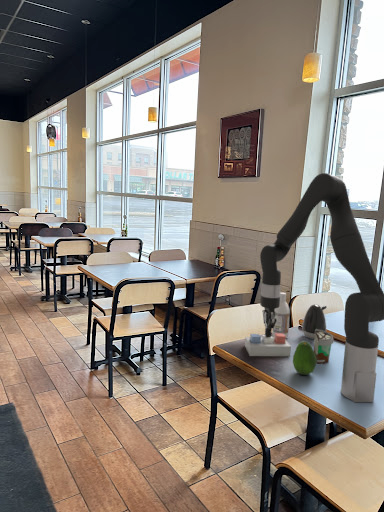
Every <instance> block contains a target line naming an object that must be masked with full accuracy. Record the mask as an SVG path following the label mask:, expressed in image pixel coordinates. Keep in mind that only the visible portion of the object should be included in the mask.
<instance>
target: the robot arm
mask: <svg viewBox="0 0 384 512" xmlns="http://www.w3.org/2000/svg"><path fill="white" fill-rule="evenodd" d="M321 202H324V203H325V204H326V206H327V208H328V211H329V215H330V217H331V227H330V234H329V236H330V243H331V247H332V249H333V252H334V253H333V254H334V256H335V257H336V259H337V261H338V262H339V263H340V264H341V266H342V267H343V268H344V269H345V270H346V271H347V272H348V273H349V274H350V275H351V276H352V278H353V280H355V283H356V285H357V287H358V290H359V292H352V293H351V294H349V295H348V296H347V298H346V301H345V304H344V305H345V306H344V325H343V328H344V334H345V343H344V344H345V345H344V353H343V362H342V363H343V364H342V376H341V385H340V393H341V395H342V396H343V397H345V398H347V399H349V400H351V401H352V402H353V403H374V401H375V391H376V390H375V389H376V381H377V372H376V370H377V369H376V368H377V360H378V352H379V343H380V339H379V336H378V335H377V334H376V333H374V332H372V331H369V330H370V329H369V326H370V323H375V322H381V321H383V320H384V291H383V289H382V287H381V284H380V283H379V282H380V281H378V278H377V275H376V274H375V272H374V269H373V267H372V264H371V262H370V259H369V256H368V254H367V250H366V248H365V244H364V241H363V238H362V235H361V233H360V230H359V228H358V224H357V221H356V218H355V216H354V213H353V211H352V208H351V203H350V199H349V194H348V190H347V186H346V183H345V182H344V180H342V179H341V178H340V177H338V176H335V175H333V174H330V173H327V172H321V173H319V174H318V175H315V177H314V178H313V179H312V181H310V184H309V185H308V187H307V188H306V190H305V192H304V194H303V196H302V198H301V199H300V201H299V202H298V204H297V206H296V208H295V209H294V211H293V213H292V214H291V216H290V217H289V218H288V220H286V223H285V224H283V226H282V227H281V229H279V231H278V232H277V234H276V240H275V241H274V243H272V244H267V245H265V246H263V248H262V249H261V251H260V255H259V256H260V257H259V258H260V259H259V260H260V265H261V271H262V278H261V279H262V281H261V287H260V288H261V289H260V302H259V303H260V306H261V307H262V308H264V309H262V320H263V324H264V327H265V329H264V335H265V336H266V337H271V336H272V329H273V328H274V326H275V324H276V321H277V319H276V318H275V315H276V313H275V308H278V307H279V306H280V293H281V283H282V281H281V278H282V272H281V270H280V269H279V268H278V265H277V264H278V262H281V261H282V260H283V259H284V258H285V257H287V255H288V253H289V252H290V250H291V248H292V246H293V244H295V242H297V240H298V239H299V238H300V237H301V235H302V234H303V233H304V231H305V229H306V228H307V224H308V221H309V218H310V216H311V213H312V212H313V210H314V209H315V208H316V207H317V205H318V204H319V203H321Z"/></svg>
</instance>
